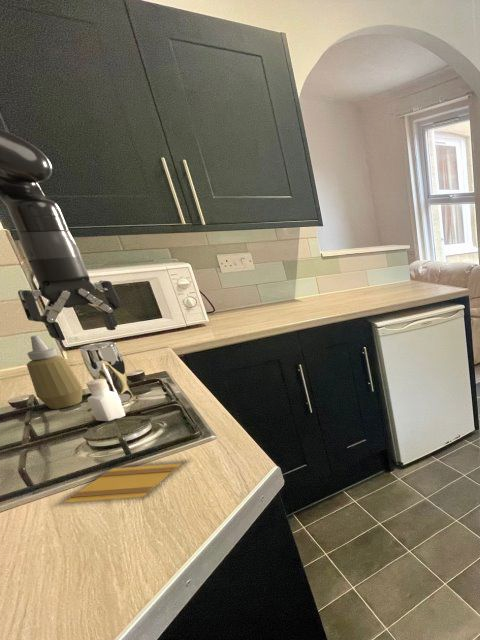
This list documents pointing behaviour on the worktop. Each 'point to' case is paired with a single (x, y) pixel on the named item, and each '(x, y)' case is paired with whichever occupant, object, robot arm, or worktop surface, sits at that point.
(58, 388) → the squeeze bottle
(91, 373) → the beer glass
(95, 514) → the worktop surface
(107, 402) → the pepper shaker
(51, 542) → the worktop surface
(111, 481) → the towel
